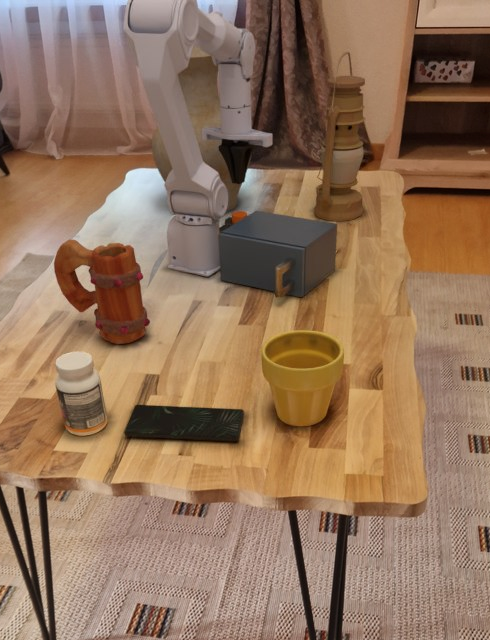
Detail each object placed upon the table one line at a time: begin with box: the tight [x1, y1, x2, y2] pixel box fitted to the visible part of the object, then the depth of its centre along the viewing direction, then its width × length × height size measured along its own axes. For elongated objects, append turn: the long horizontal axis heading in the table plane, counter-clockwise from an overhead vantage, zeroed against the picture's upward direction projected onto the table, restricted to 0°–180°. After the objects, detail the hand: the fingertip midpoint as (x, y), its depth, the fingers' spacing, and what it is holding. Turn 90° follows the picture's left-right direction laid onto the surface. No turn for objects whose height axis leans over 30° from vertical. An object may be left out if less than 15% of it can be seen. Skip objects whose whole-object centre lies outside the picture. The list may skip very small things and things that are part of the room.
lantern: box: [313, 50, 366, 222], centre depth 147 cm, size 15×10×30 cm
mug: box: [53, 238, 151, 345], centre depth 113 cm, size 15×8×15 cm, turn 71°
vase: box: [151, 45, 253, 213], centre depth 155 cm, size 22×22×30 cm
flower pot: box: [260, 329, 345, 427], centre depth 94 cm, size 10×10×10 cm
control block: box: [219, 216, 234, 233], centre depth 148 cm, size 9×7×3 cm
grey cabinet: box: [222, 210, 338, 297], centre depth 130 cm, size 12×17×9 cm
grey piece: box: [218, 233, 305, 299], centre depth 125 cm, size 6×17×8 cm, turn 58°
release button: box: [231, 210, 248, 224], centre depth 147 cm, size 3×3×2 cm
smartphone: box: [123, 404, 245, 442], centre depth 96 cm, size 7×1×15 cm
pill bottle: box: [54, 350, 108, 437], centre depth 95 cm, size 6×6×10 cm
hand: (238, 182), depth 143 cm, fingers closed
